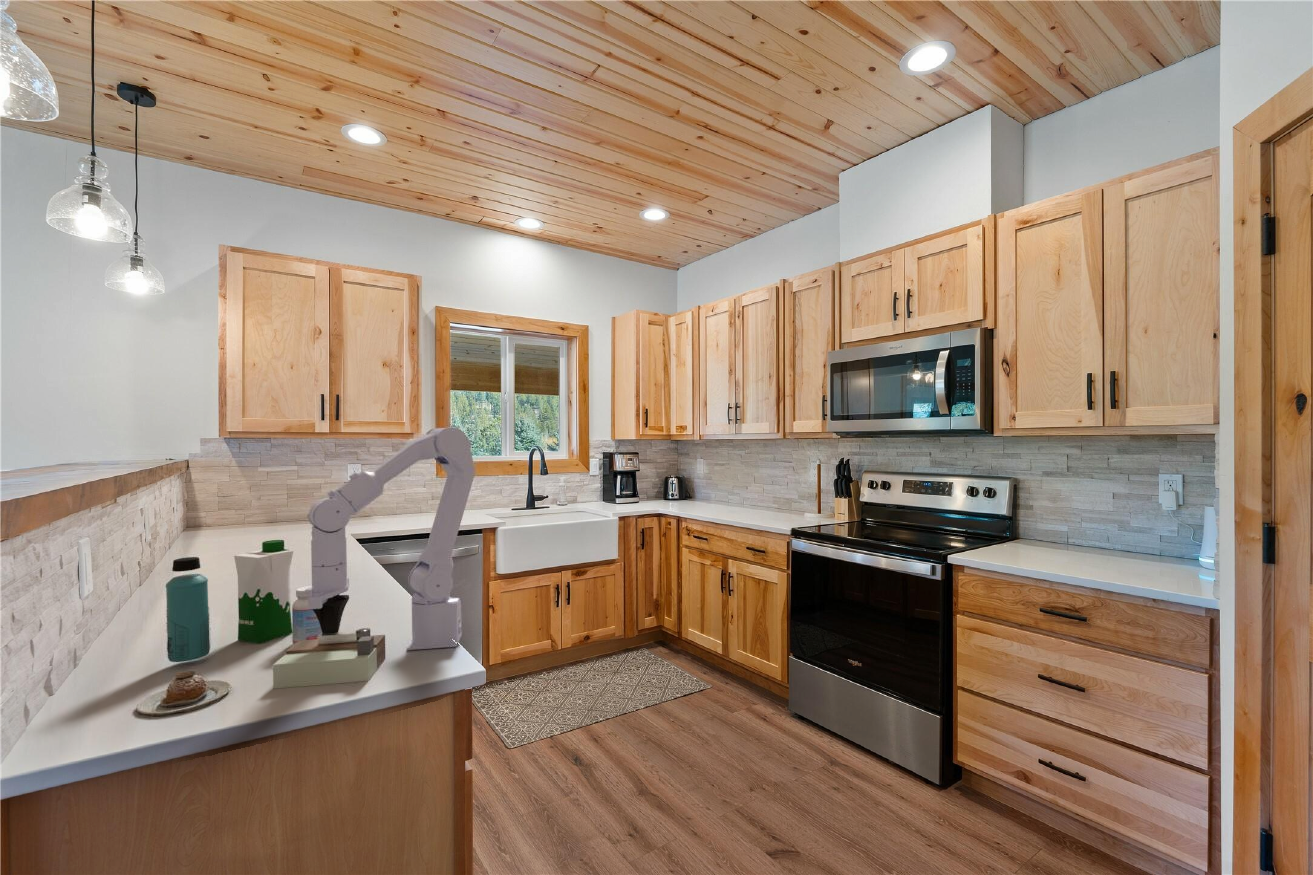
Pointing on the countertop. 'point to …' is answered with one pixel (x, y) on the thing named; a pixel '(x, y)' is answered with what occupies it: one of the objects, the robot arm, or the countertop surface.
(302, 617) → the pill bottle
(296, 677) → the pale green long block
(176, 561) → the beverage bottle
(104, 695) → the countertop surface
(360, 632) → the bar
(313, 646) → the block
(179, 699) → the pastry
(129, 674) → the countertop surface
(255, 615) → the milk carton
